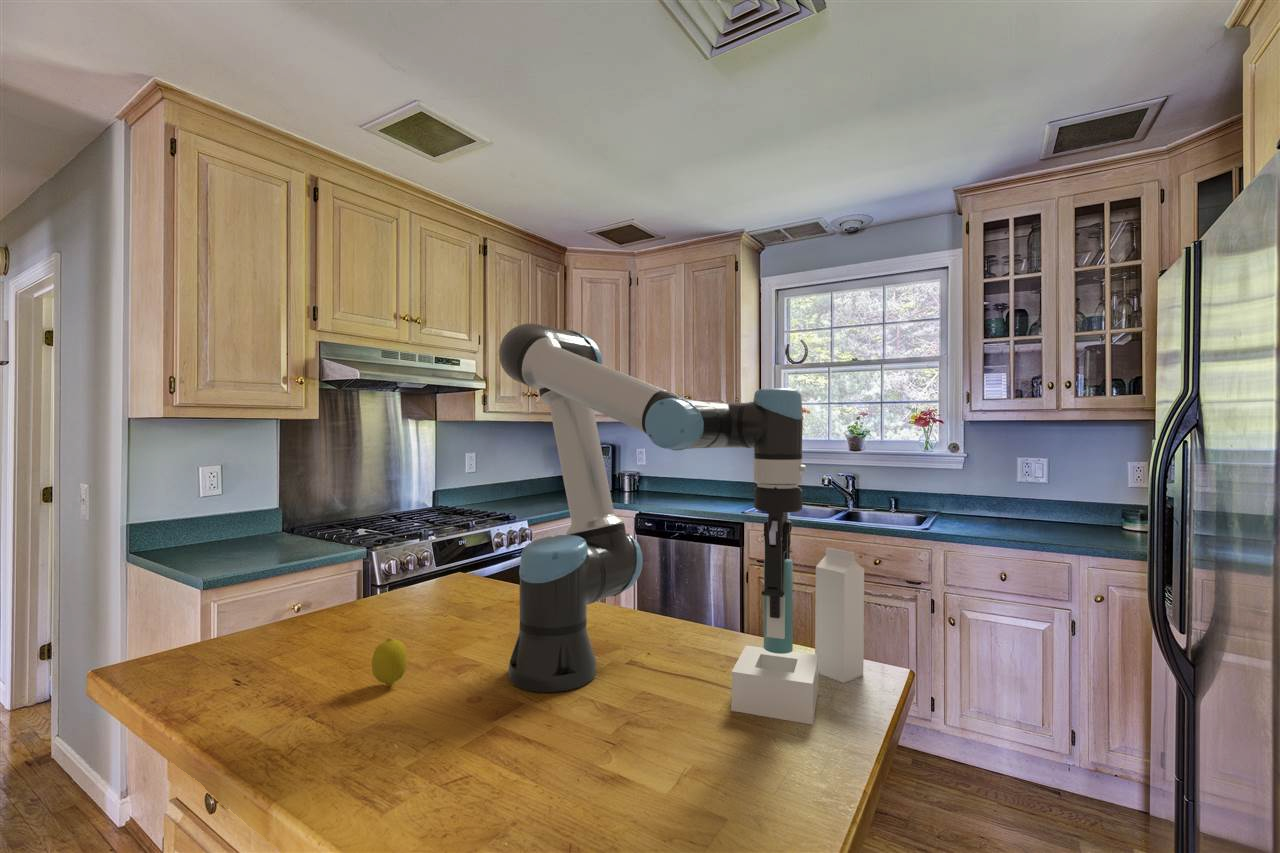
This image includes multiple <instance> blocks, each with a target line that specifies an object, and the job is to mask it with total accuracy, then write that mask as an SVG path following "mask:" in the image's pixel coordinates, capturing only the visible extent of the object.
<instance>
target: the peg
mask: <svg viewBox="0 0 1280 853" xmlns="http://www.w3.org/2000/svg"><path fill="white" fill-rule="evenodd" d="M793 563H794V561H793V560H792V559H784V588H783V591H784V596H785V638H784V639H779V638H771V637H767V596H764V595H763V648H764V649H765V650H766V651H769V652H772V653H778V654H785V653H790V652H793V646H794V644H793V641H794V640H793V638H794V637H793V636H794V630H793V628H794V627H793V625H794V623H793V622H794V621H793V620H794V619H793V618H794V616H793V615H794V614H793V611H794V610H793V608H794V605H793V604H794V603H793V602H794V601H793V600H794V599H793V598H794V597H793V596H794V595H793V594H794V593H793V592H794V589H793V588H794V580H793V579H794V576H793V575H794V574H793V572H794V568H793V566H794V565H793ZM764 589H765V558H763V590H764Z"/></svg>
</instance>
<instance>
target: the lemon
mask: <svg viewBox="0 0 1280 853" xmlns="http://www.w3.org/2000/svg"><path fill="white" fill-rule="evenodd" d="M408 661H409V658H408V651H407V648H406V646H405V645H404V643H403V642H402V641H401V640H398V639H396V638H393V637H388V638H386V639H385V640H383V641H382V642H381V643H379V644H378V645H377V646H376V648H375V649H374V652H373V654H372V658H371V669H372V670H371V671H372V675H373V676H374V678H375V680H377V681H378V682H379V683H382V684H385V685H386V686H387V687H391V686H393V684H394V683H397V681H399V680H400V679H401V678H403V676H404V674H406V671H407V669H408V668H407V667H408V663H409V662H408Z"/></svg>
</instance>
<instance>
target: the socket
mask: <svg viewBox="0 0 1280 853" xmlns="http://www.w3.org/2000/svg"><path fill="white" fill-rule="evenodd" d="M818 694H819V673H818V655H815V654H813V653H804V652H799V651H798V652H797V651H792V652H790V653H785V654H778V653H772V652H769V651H766V650H765V649H764V647H761V646H752V645H745V646H744V648H743V650H742V652H741V653H740V656H739V658H738V659H737V661H736V663H735V665H734V667H733V669H732V670H731V701H730V702H731V703H730V705H731V707H730V708H731V709H730V710H731V712H737V713H742V714H743V713H744V714H747V715H755V716H761V717H766V718H771V719H777V720H784V721H788V722H794V723H795V722H796V723H801V724H806V725H813V723H814V717H815V711H816V707H817V706H816V705H817V700H818Z"/></svg>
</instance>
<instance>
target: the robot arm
mask: <svg viewBox="0 0 1280 853" xmlns="http://www.w3.org/2000/svg"><path fill="white" fill-rule="evenodd" d="M498 357H499V362H500V365H501V368H502V370H503V371H504V372H505V374H506V375H507V376H508V377H509V378H511V379H513V380H514V381H517V382H519V383H521V384H522V385H525V386H527V387H530V388H532V389H534V390H535V389H536V390H538V392H539V397H540V398H539V399H540V401H542V403H544V404H546V405H547V406H549V409H550V416H551V421H552V426H553V431H554V436H555V437H554V438H555V442H556V448H557V452H558V458H559V463H560V469H561V474H562V479H563V485H564V489H565V495H566V499H567V506H568V512H569V515H570V516H569V517H570V522H571V524H570V526H569V528H568V529H567V531H566V532H565V534H558V535H555V536H546V537H545V536H544V537H542V538H539V539H535V540H533V541H531V542H529V543H528V544H527V545H525V546H524V548H523V549H522V551H521V553H520V554H521V555H520V565H519V569H518V574H519V632H518V636H517V638H516V642H515V644H514V648H513V650H512V653H511V656H510V660H509V663H508V679H509V682H510V683H511V684H512V685H513V686H515V687H517V688H519V689H522V690H525V691H529V692H534V693H535V692H536V693H559V692H565V691H571V690H574V689H578V688H581V687H583V686H585V685H587V684H589V683H590V682H591V681H593V680H594V679H595V677H596V674H597V661H596V660H597V659H596V655H595V653H594V650H593V647H592V643H591V639H590V636H589V633H588V629H587V613H588V612H587V609H588V608H587V606H588V605H591V604H593V603H596V602H599V601H602V600H604V599H607V598H609V597H615V596H618V595H620V594H622V593H623V592H624V591H627V590H629V589H630V588H632V586H634V584H636V582H637V581H638V579H639V577H640V576H641V572H642V569H643V560H644V559H643V552H642V549H641V548H642V547H641V546H640V544H639V542H638V541H637V539H634V537H633V535H631V534H630V533H628V532H626V525H625V522H624V521H623V519H622V518H620V517H618V516H617V515H616V513H615V510H614V506H613V500H612V495H611V491H610V485H609V480H608V475H607V472H606V471H607V470H606V466H605V460H604V456H603V451H602V445H601V441H600V435H599V429H598V426H597V420H596V415H595V412H598V413H600V414H601V415H605V416H607V417H609V418H611V419H613V420H616V421H618V422H620V423H622V424H624V425H626V426H629V427H631V428H633V429H635V430H637V431H640V432H642V433H644V434H646V435H647V436H648V438H649V439H650V441H652V443H653V444H654V445H655V446H657V447H659V448H662V449H667V450H672V451H683V450H691V449H692V450H693V449H715V448H719V449H720V448H746V449H752V448H753V452H754V453H753V455H754V456H753V482H754V483H755V484H757V486H755V488H753V507H754V509H755V510H757V511H759V512H767V513H768V514H767V520H765V521H766V522H764V523H763V538H764V540H763V541H764V559H765V589H764V588H763V591H761V596H763V597H764V596H767V637H771V638H779V639H784V638H785V596H784V591H783V588H784V559H790V557H791V555H790V554H791V552H790V548H791V542H792V541H791V540H792V539H791V532H792V530H793V528H792V527H793V526H792V525H793V524H792V521H791V520H790V519H789V518H788V517H789V516H788V513H791V514H792V513H797V512H800V511H802V509H803V489H802V488H801V487H799V485H801V484H802V483H803V472H806V471H807V466H806V465H804V464H802V463H803V429H804V428H803V426H804V424H803V420H804V416H803V403H802V402H803V401H802V395H801V393H800V391H798V389H794V388H765V389H762V388H760V389H757V390H756V391H755V392H754V394H753V395H754V396H753V401H750V402H716V401H714V402H713V401H705V400H704V401H703V400H692V399H689V398H686V397H683V396H680V395H678V394H676V393H674V392H671V391H668V390H665V389H663V388H661V387H659V386H656V385H654V384H651V383H648V382H646V381H643V380H642V379H639V378H636V377H634V376H631V375H629V374H626V373H624V372H621V371H619V370H617V369H613V368H611V367H609V366H606V365H604V364H603V358H602V353H601V351H600V348H599V347H598V345H597V343H596V342H595V341H594V340H592V339H591V337H589V336H587V335H585V334H583V333H580V332H578V331H575V330H569V329H560V328H555V327H552V326H546V325H544V324H543V325H542V324H539V323H522V324H519V325H516V326H515V327H513V328H511V329H510V330H509V331H508V332H506V334H505V335H504V336H503V338H502V340H501V341H500V344H499V350H498ZM790 560H791V559H790Z"/></svg>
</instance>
